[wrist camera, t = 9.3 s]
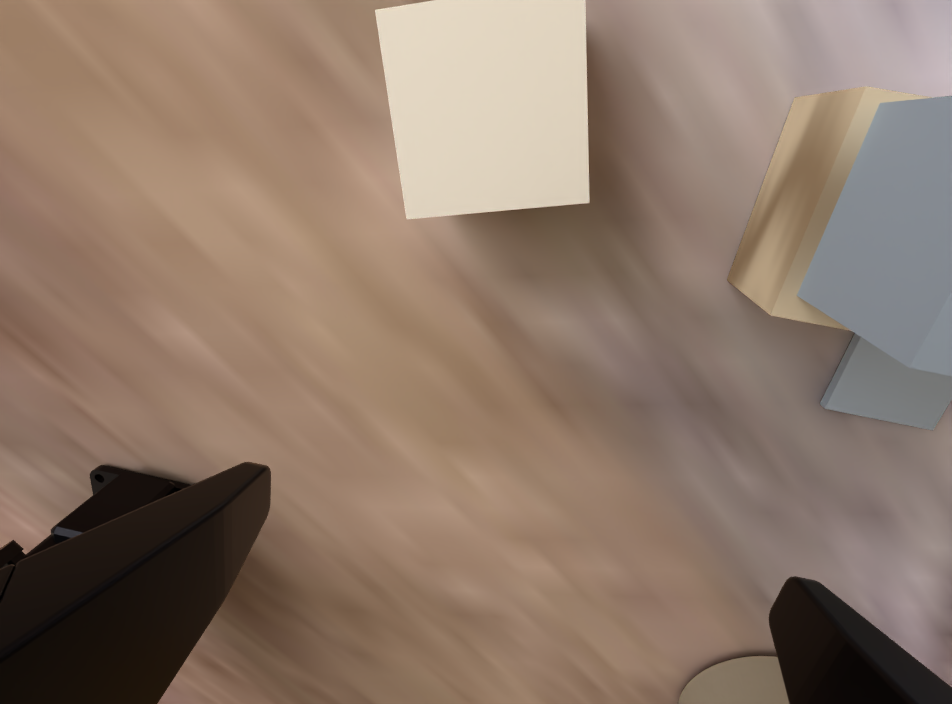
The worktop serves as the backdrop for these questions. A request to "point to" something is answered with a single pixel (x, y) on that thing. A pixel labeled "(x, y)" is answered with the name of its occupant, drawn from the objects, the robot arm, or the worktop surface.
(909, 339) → the blue cube
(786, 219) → the birch block
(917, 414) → the tile
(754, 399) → the worktop surface
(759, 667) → the travel mug
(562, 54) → the cream cube
